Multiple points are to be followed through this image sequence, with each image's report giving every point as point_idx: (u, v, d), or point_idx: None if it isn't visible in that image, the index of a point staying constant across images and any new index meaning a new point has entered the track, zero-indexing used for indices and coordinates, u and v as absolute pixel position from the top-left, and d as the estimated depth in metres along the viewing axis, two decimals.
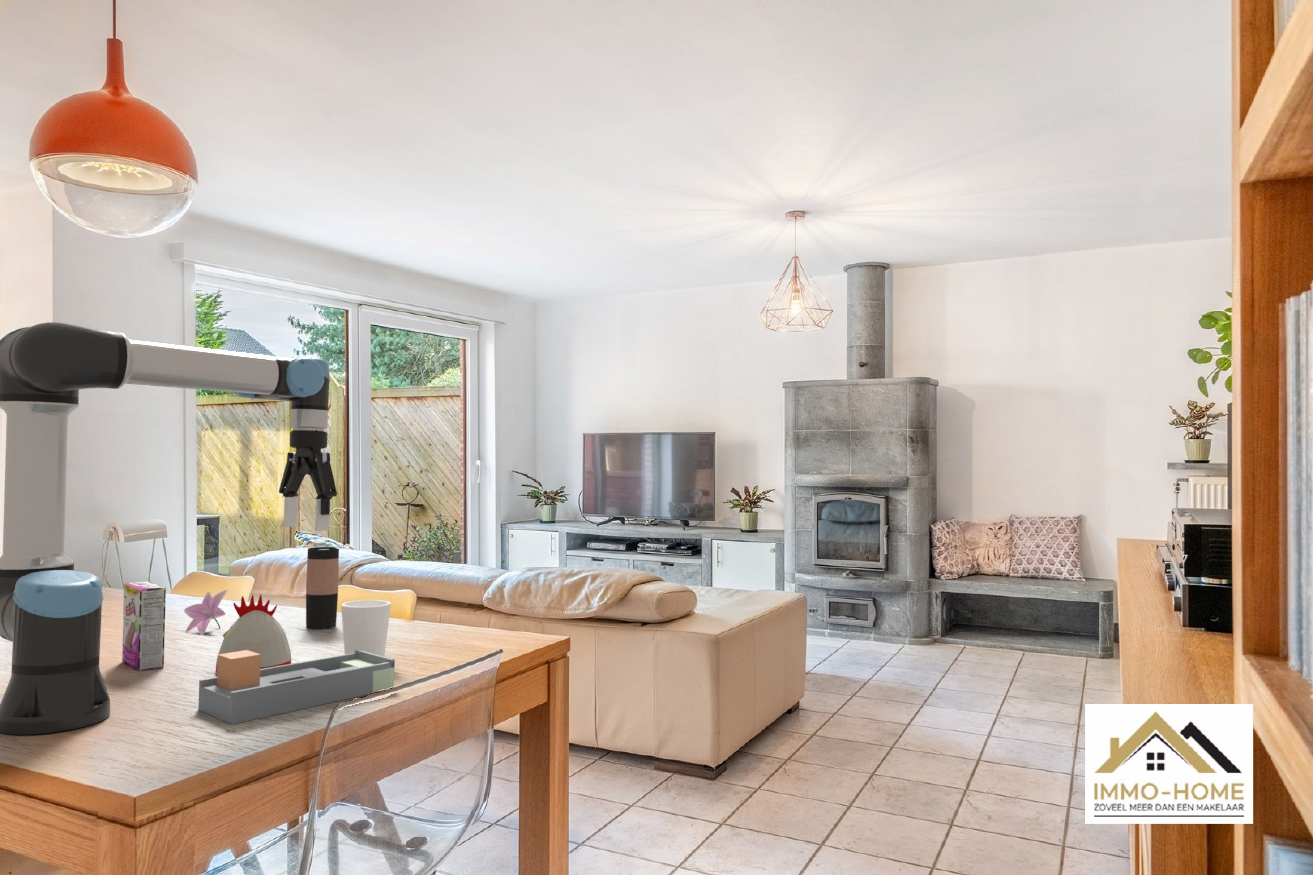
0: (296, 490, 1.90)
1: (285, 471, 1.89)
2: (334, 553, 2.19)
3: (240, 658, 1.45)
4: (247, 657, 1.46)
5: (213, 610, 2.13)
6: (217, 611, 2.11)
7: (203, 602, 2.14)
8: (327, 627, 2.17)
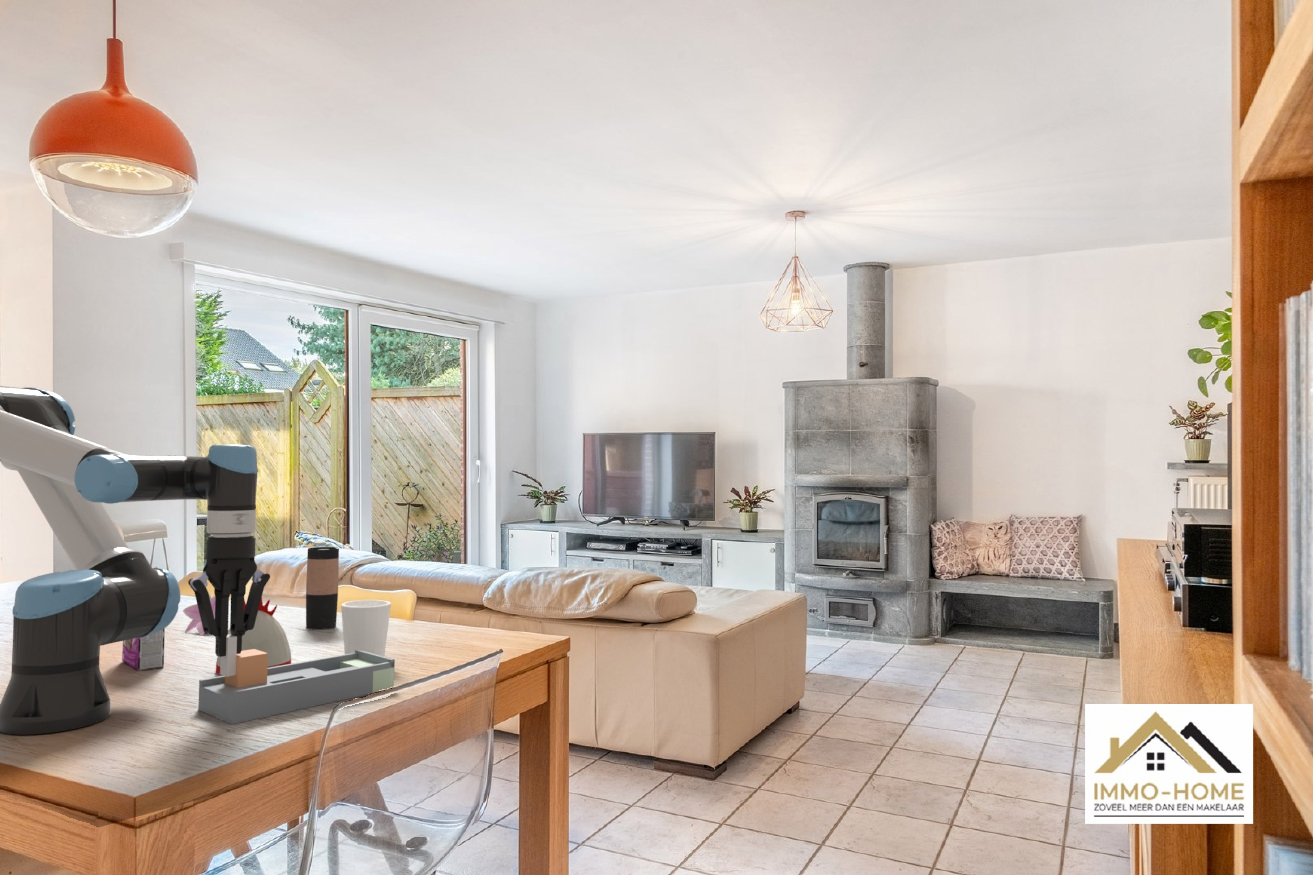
0: (235, 622, 1.46)
1: None
2: (334, 553, 2.19)
3: (247, 657, 1.46)
4: (254, 656, 1.47)
5: (212, 610, 2.12)
6: None
7: None
8: (327, 627, 2.17)
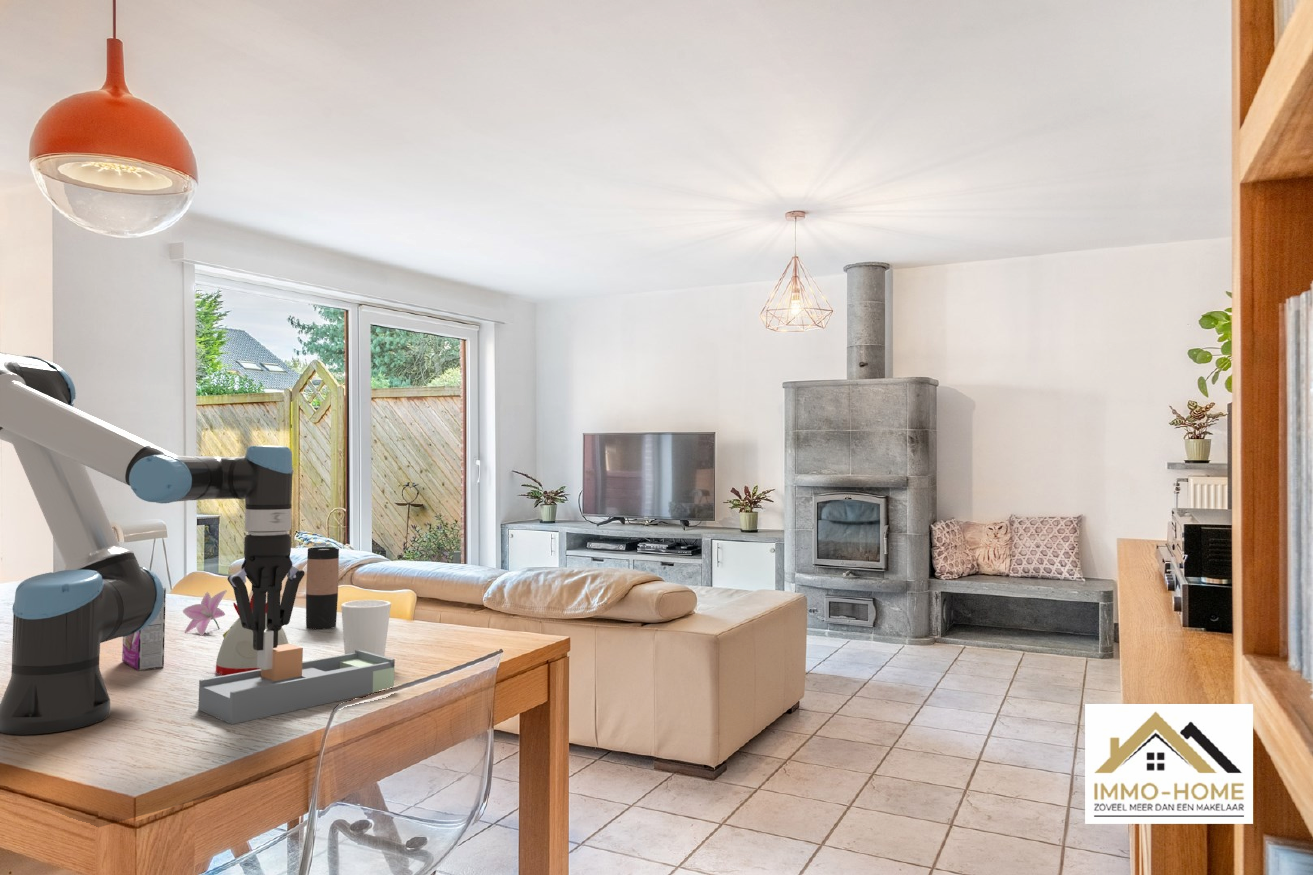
0: (272, 617, 1.51)
1: None
2: (334, 553, 2.19)
3: (284, 651, 1.51)
4: (290, 650, 1.52)
5: (212, 610, 2.12)
6: (216, 611, 2.11)
7: (202, 602, 2.14)
8: (327, 627, 2.17)
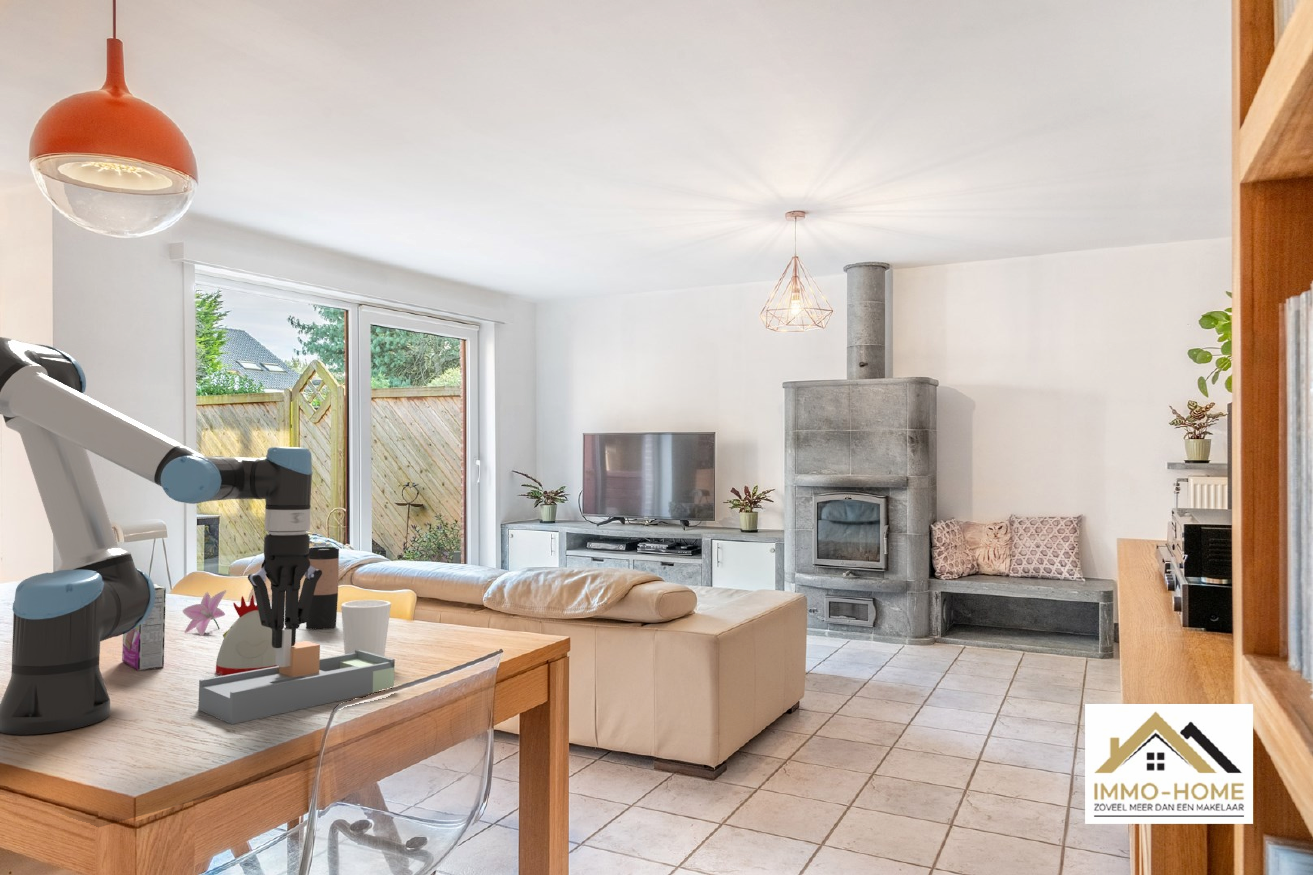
0: (290, 616, 1.54)
1: None
2: (334, 553, 2.19)
3: (301, 648, 1.54)
4: (308, 647, 1.55)
5: (212, 610, 2.12)
6: (216, 611, 2.11)
7: (202, 602, 2.14)
8: (327, 627, 2.17)
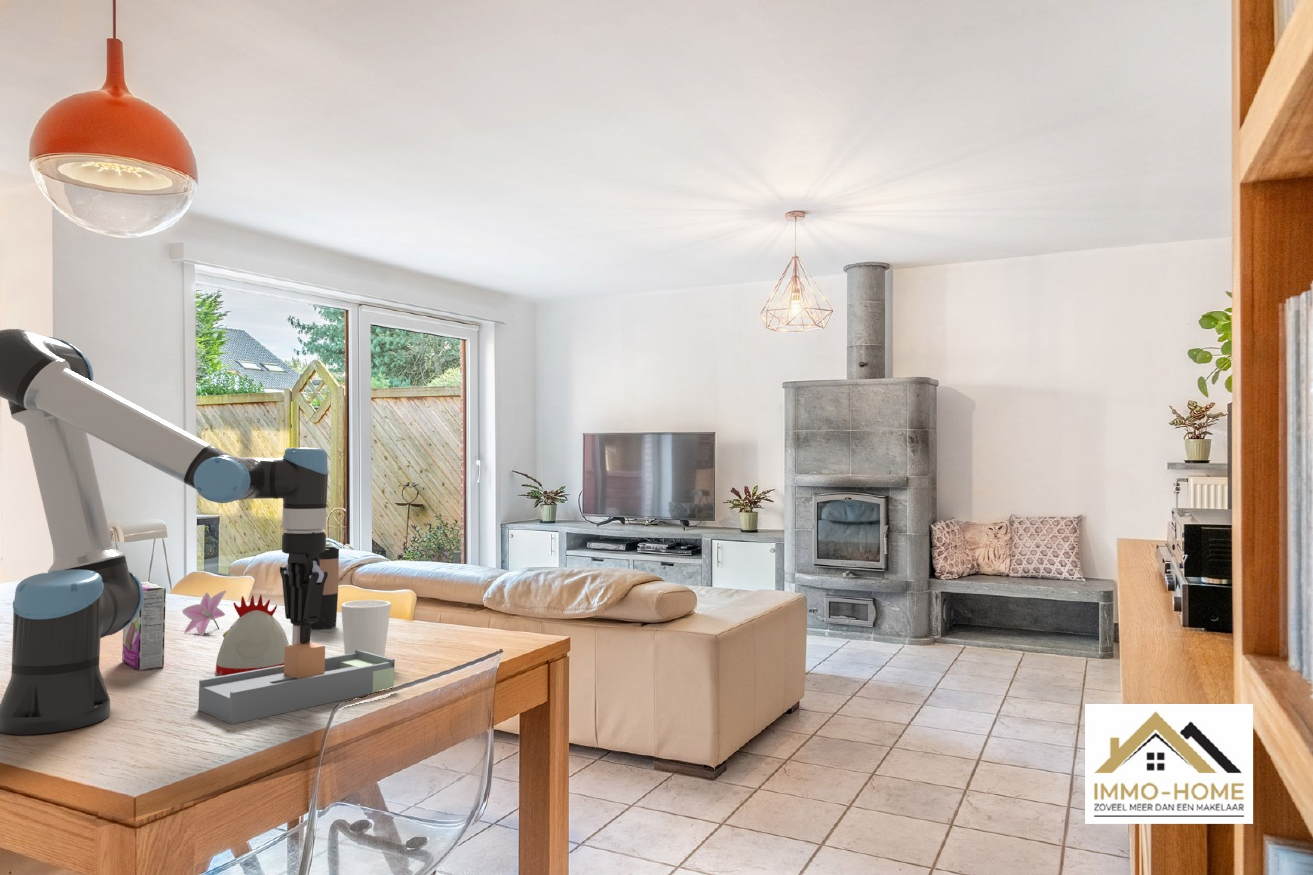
0: None
1: (284, 589, 1.60)
2: (334, 553, 2.19)
3: (307, 649, 1.53)
4: (313, 648, 1.54)
5: (212, 611, 2.12)
6: (216, 612, 2.10)
7: (202, 603, 2.13)
8: (327, 627, 2.17)
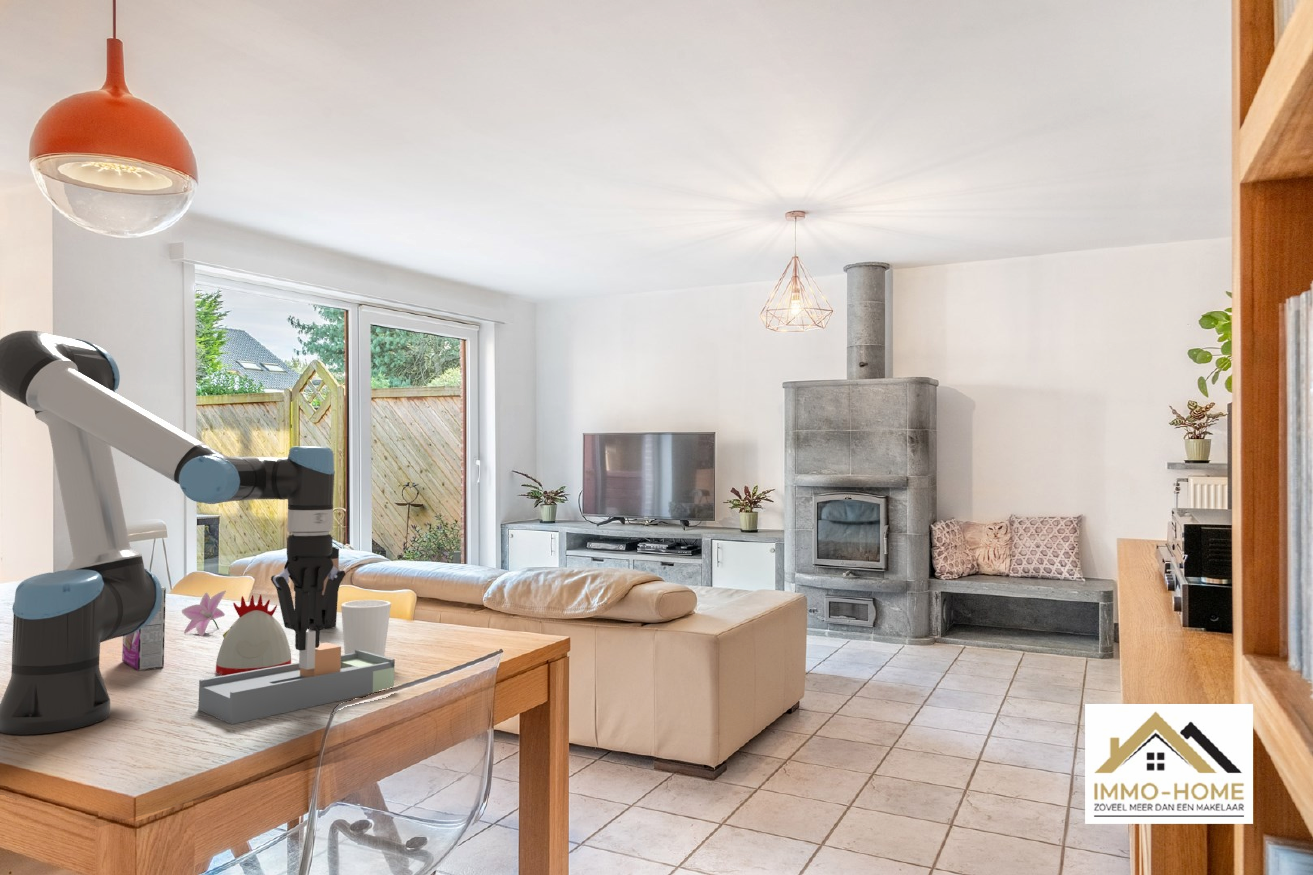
0: (314, 617, 1.52)
1: None
2: (334, 553, 2.19)
3: (323, 650, 1.53)
4: (329, 649, 1.53)
5: (212, 611, 2.11)
6: (216, 612, 2.10)
7: (201, 603, 2.13)
8: (327, 627, 2.17)
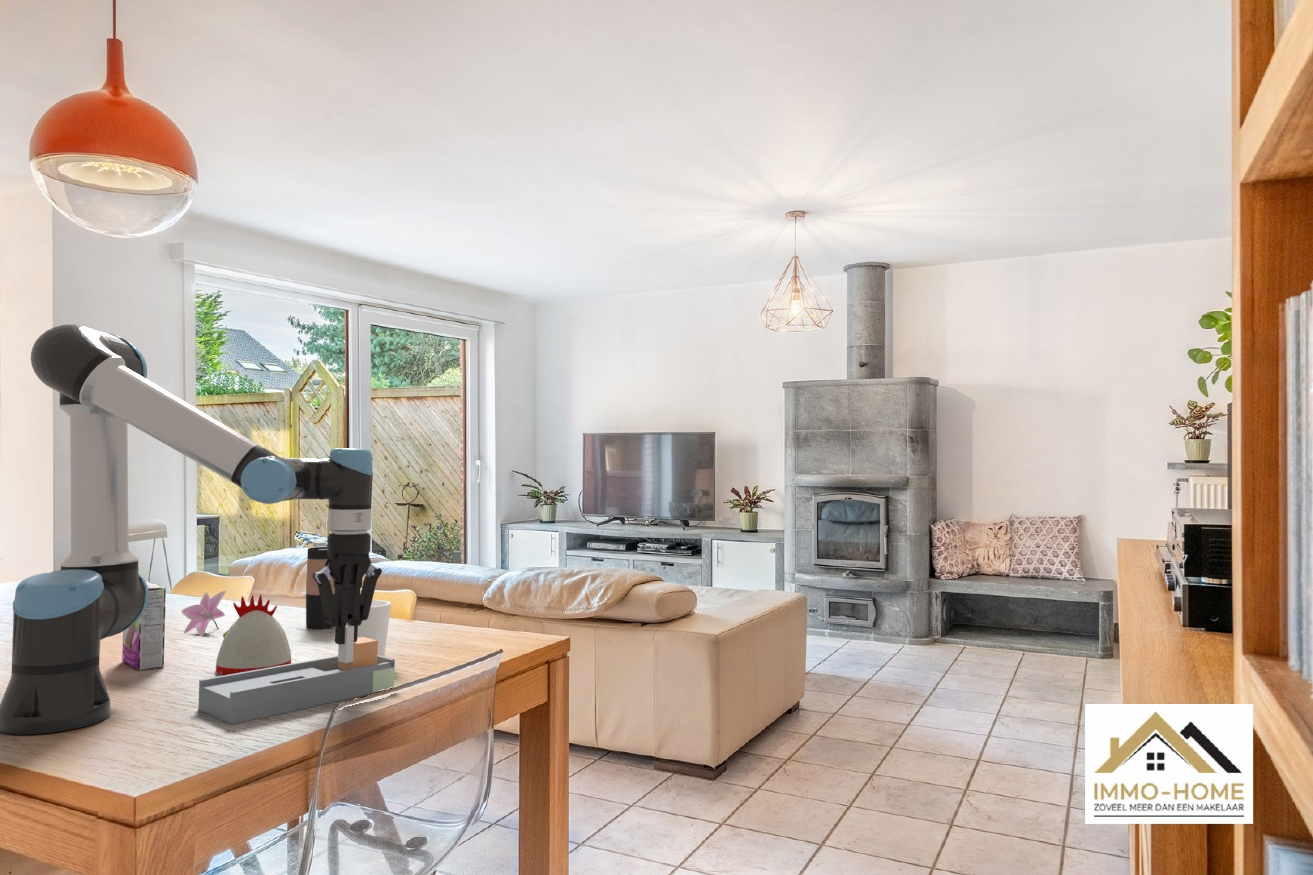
0: (352, 613, 1.58)
1: None
2: None
3: (361, 644, 1.58)
4: (366, 643, 1.59)
5: (212, 611, 2.11)
6: (216, 612, 2.10)
7: (201, 603, 2.13)
8: (327, 627, 2.17)
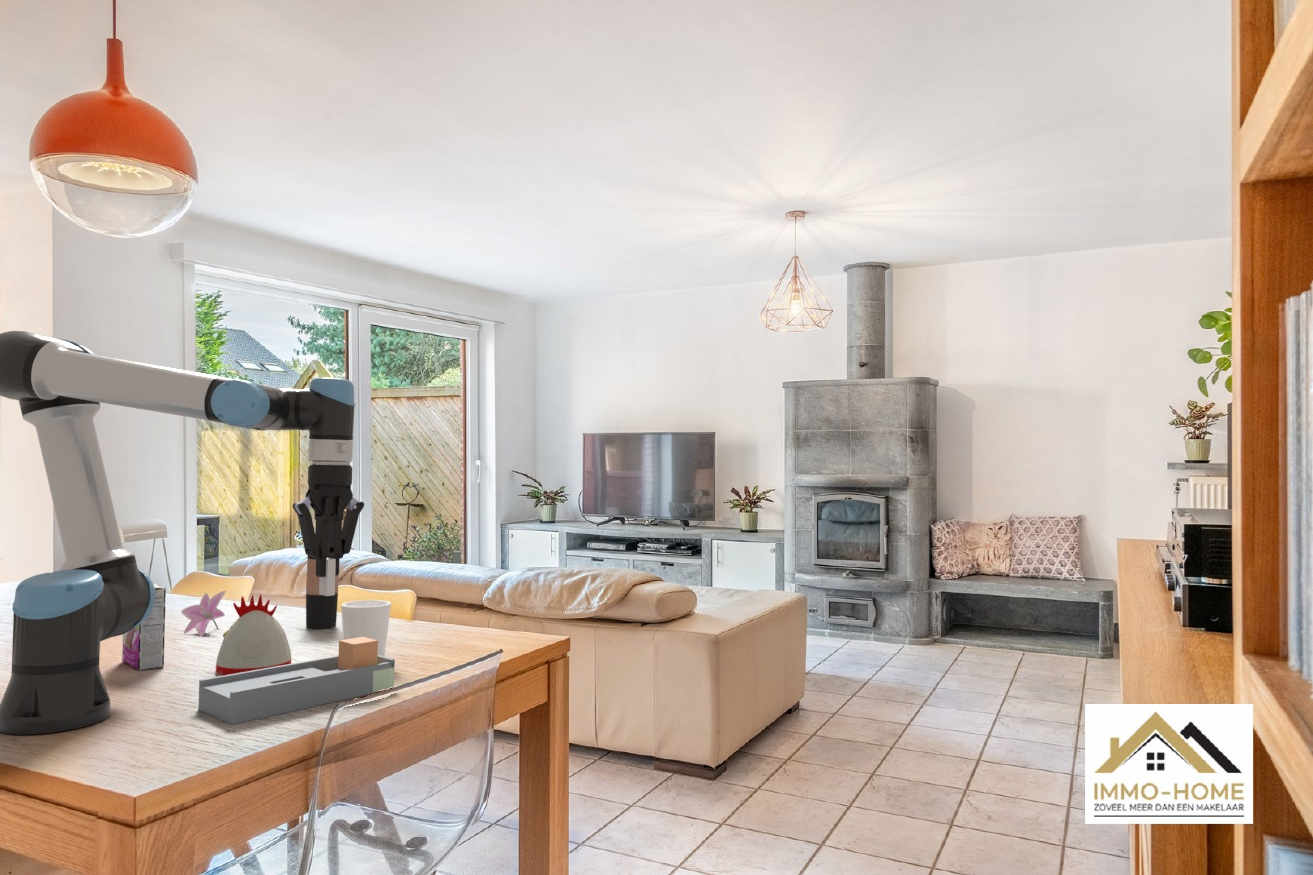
0: (334, 546, 1.55)
1: None
2: None
3: (361, 643, 1.59)
4: (367, 643, 1.59)
5: (211, 611, 2.11)
6: (216, 612, 2.10)
7: (201, 603, 2.13)
8: (327, 627, 2.17)
